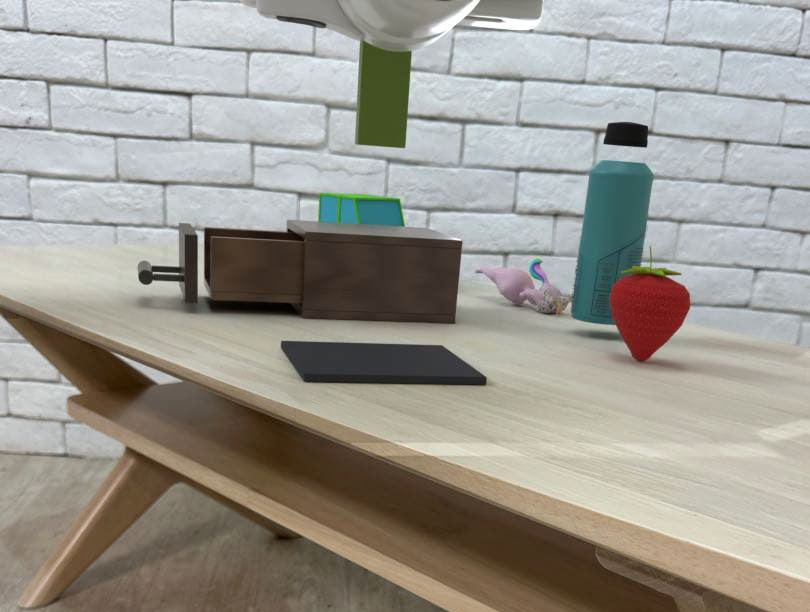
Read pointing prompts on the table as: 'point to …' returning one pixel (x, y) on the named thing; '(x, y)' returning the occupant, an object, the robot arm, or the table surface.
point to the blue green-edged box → (360, 209)
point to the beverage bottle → (611, 225)
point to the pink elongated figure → (527, 287)
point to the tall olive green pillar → (382, 97)
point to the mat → (379, 363)
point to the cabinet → (378, 272)
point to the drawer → (236, 265)
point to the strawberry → (648, 308)
